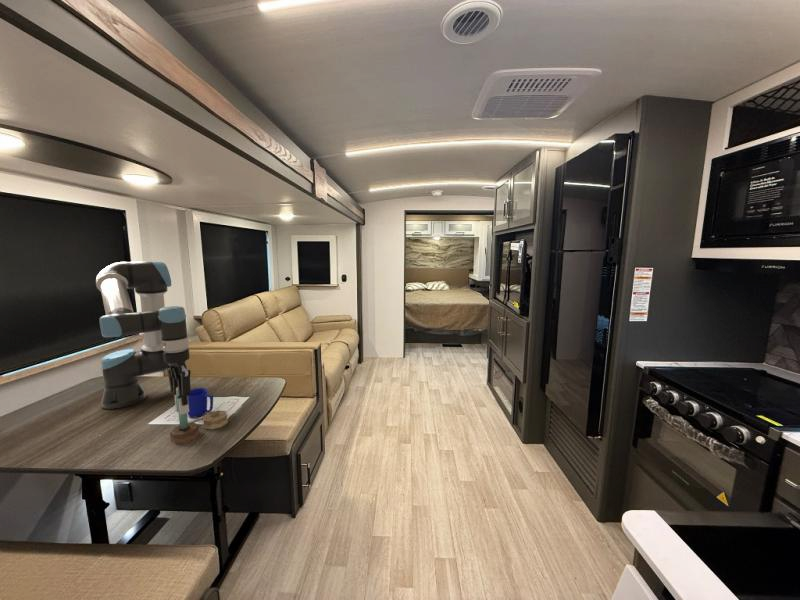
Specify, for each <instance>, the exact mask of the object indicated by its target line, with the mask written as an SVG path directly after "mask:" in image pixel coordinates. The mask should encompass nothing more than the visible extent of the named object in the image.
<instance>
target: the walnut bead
mask: <svg viewBox="0 0 800 600" xmlns="http://www.w3.org/2000/svg"><path fill="white" fill-rule="evenodd" d="M199 427H200V426H199V424H198V423H197V422H196V421H195V422H191V423H188V428H186V429H180V424H179V425H176V426H174V427H173V428H172V429H171V430H170V431H169V434H170V441H171V442H172V443H173V444H175V445H177V444H178V445H179V444H185V443H188V442H191V441H193V440H195V439H197V437H198V436H199V434H200V429H199Z"/></svg>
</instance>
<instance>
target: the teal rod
mask: <svg viewBox="0 0 800 600" xmlns="http://www.w3.org/2000/svg"><path fill="white" fill-rule="evenodd" d="M176 395H177V397H178V396H179V390H178V387H177V388H176ZM177 404H178V412H177V414H178V419H179V421H178V422H179V425H180V429H186V428H188V422H189V418H188V413H184V414H182V415H181V414H180V409H179V400H178V398H177Z"/></svg>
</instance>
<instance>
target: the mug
mask: <svg viewBox="0 0 800 600" xmlns="http://www.w3.org/2000/svg"><path fill="white" fill-rule="evenodd" d="M208 398H209V409H208ZM188 404H189V412H187V416H188V417H190V418H199V417H202V416H204V415H206V413H207V414H208V413H210V412H213V411H212V410H213V407H214V395H212V394H208V389H207V388H205V387H200V388H199V387H198V388H193V389H191V395H188Z"/></svg>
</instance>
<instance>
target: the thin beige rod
mask: <svg viewBox="0 0 800 600" xmlns="http://www.w3.org/2000/svg"><path fill="white" fill-rule="evenodd" d="M205 415H206V414H204V415H202V416H199V417H196V418H194V419H192V420H190V421H189V420H188V423H191V422H195V423H196V422H197V421H199V420H201V419H203V416H205Z"/></svg>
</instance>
